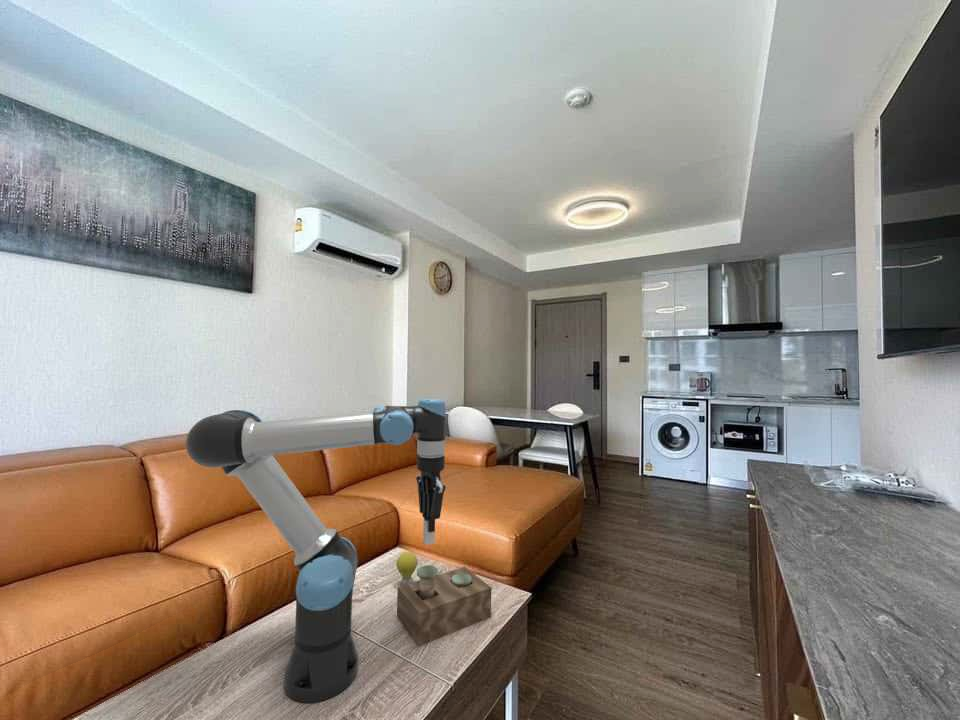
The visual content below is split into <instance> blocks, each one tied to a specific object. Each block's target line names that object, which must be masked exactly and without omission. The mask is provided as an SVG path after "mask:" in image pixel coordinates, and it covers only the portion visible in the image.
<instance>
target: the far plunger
mask: <svg viewBox="0 0 960 720" xmlns="http://www.w3.org/2000/svg"><path fill="white" fill-rule="evenodd" d="M452 583H453V584H454V585H455V586H457V587H458V588H461V587H464V586H467V585H468V584H470V583H471V576H470V575H469V574H466V573H457V574H455V575H453V576H452Z"/></svg>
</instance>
